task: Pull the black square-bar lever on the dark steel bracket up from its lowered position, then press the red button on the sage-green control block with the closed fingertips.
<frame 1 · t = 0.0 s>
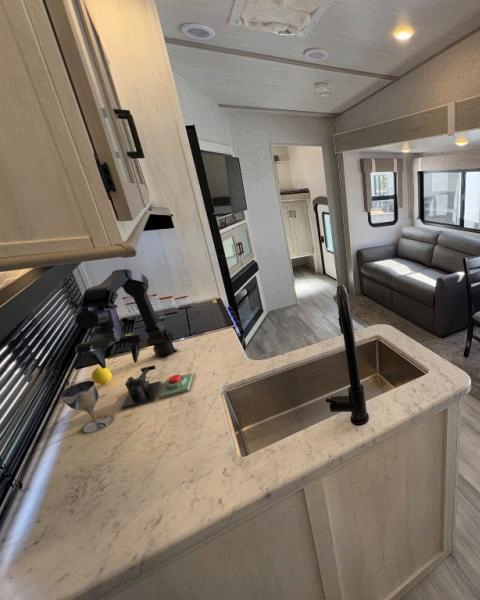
hand: (120, 365, 109), 15 cm above the worktop, tool pointing down, fingers open, 9 cm apart
wine glass: (98, 424, 104), on the worktop
button: (174, 379, 120), point 3 cm above the worktop, slide at 0.1 cm
lemon: (106, 384, 125), on the worktop
control block: (177, 386, 121), on the worktop
lever: (142, 375, 120), point 5 cm above the worktop, hinge at -8.0°
bracket: (142, 395, 117), on the worktop
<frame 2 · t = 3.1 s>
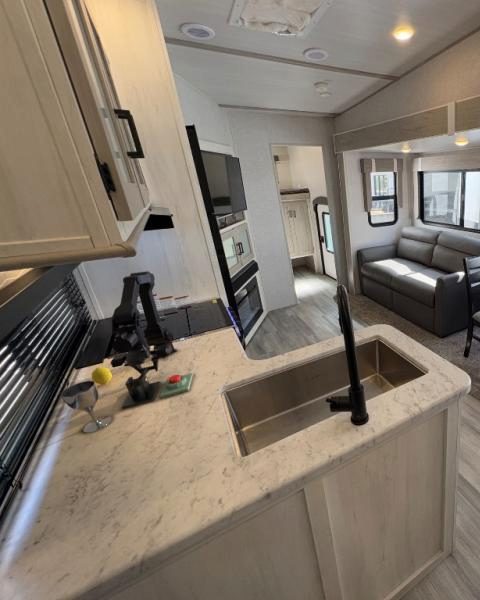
hand: (149, 372, 127), 2 cm above the worktop, tool pointing down, fingers closed on lever, 4 cm apart
lever: (142, 375, 120), point 5 cm above the worktop, hinge at -8.0°, touching gripper
everything else where it was.
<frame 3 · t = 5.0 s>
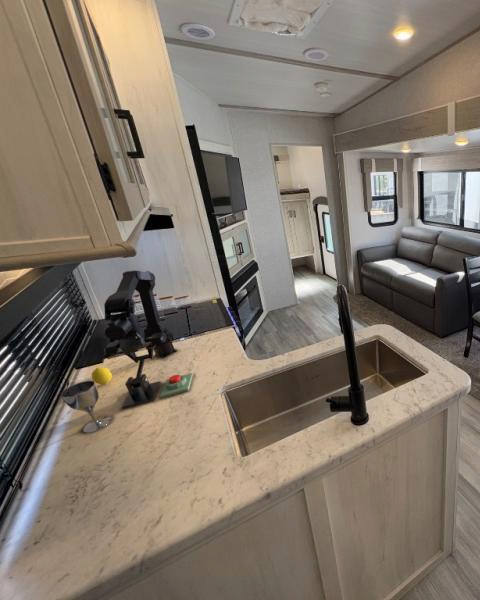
hand: (144, 360, 125), 8 cm above the worktop, tool pointing down, fingers closed on lever, 4 cm apart
lever: (140, 370, 119), point 8 cm above the worktop, hinge at 17.0°, touching gripper
everything else where it was.
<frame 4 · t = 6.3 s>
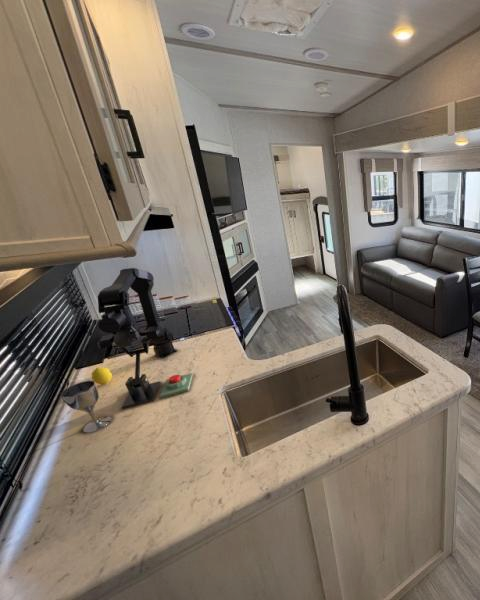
hand: (139, 355, 122), 12 cm above the worktop, tool pointing down, fingers closed on lever, 4 cm apart
lever: (137, 367, 118), point 10 cm above the worktop, hinge at 35.4°, touching gripper
everything else where it was.
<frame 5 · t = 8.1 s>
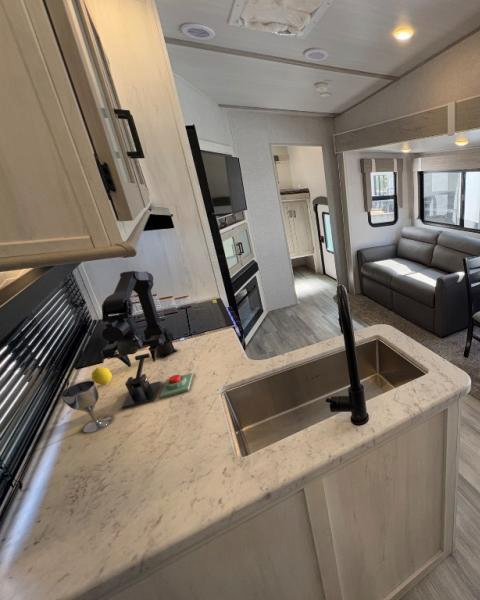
hand: (142, 363, 123), 8 cm above the worktop, tool pointing down, fingers open, 8 cm apart
lever: (139, 370, 119), point 8 cm above the worktop, hinge at 19.1°
everything else where it was.
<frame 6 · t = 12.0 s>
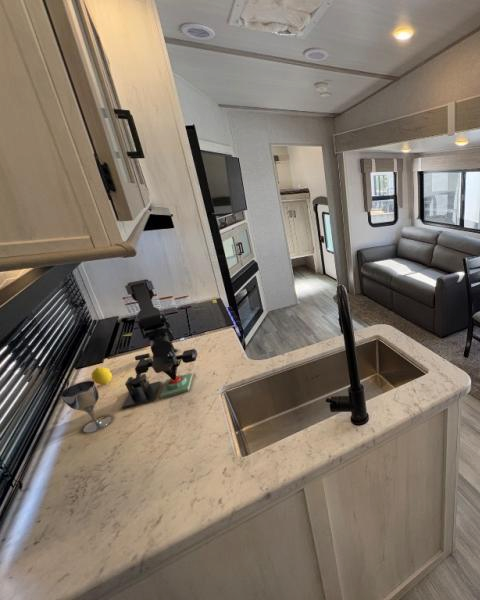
hand: (174, 379, 120), 4 cm above the worktop, tool pointing down, fingers closed, pressing on button
button: (175, 381, 120), point 3 cm above the worktop, slide at -0.7 cm, touching gripper
everything else where it was.
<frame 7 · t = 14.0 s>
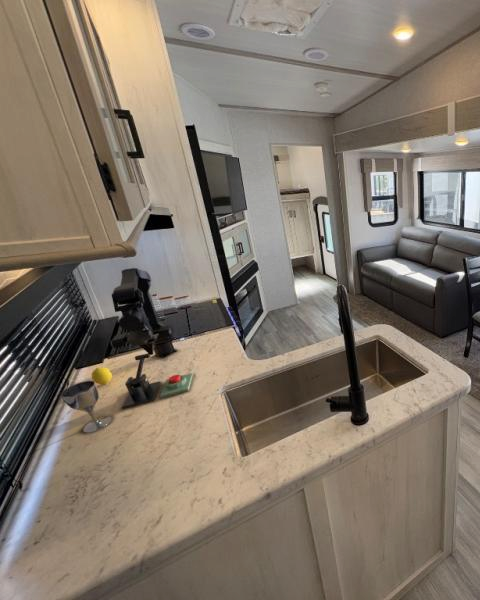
hand: (151, 354, 122), 12 cm above the worktop, tool pointing down, fingers closed
button: (174, 379, 120), point 3 cm above the worktop, slide at 0.1 cm
everything else where it was.
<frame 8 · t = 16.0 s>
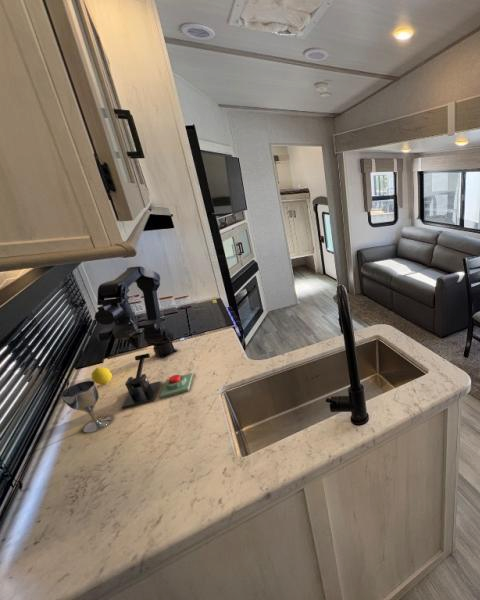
hand: (138, 348, 125), 13 cm above the worktop, tool pointing down, fingers closed
nothing on the worktop moved.
at the end: lever reached +36° during the clip, +19° at the end; lever at +19° (first picture: -8°); button pushed in 1.1 cm at the most during the clip, back to where it started at the end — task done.
